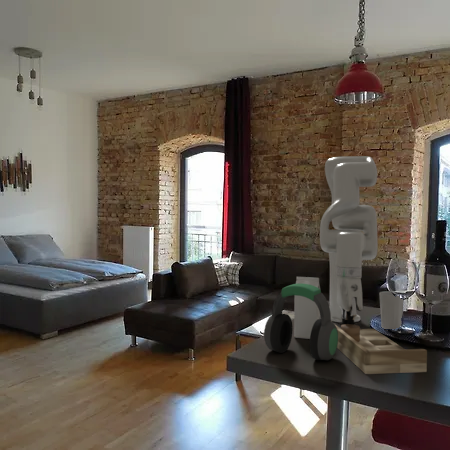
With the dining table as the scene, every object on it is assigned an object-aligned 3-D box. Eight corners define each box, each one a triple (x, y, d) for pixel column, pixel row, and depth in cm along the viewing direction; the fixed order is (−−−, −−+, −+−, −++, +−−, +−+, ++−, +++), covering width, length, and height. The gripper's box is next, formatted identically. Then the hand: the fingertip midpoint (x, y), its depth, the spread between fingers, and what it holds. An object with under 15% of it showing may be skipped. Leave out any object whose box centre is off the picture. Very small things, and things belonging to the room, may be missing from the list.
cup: (405, 332, 151) (406, 296, 150) (380, 331, 152) (381, 295, 152) (401, 326, 158) (401, 291, 158) (377, 324, 160) (377, 291, 159)
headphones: (339, 355, 127) (340, 285, 126) (326, 367, 118) (327, 291, 117) (278, 344, 137) (278, 278, 136) (261, 354, 128) (261, 284, 127)
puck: (337, 337, 137) (337, 324, 137) (355, 337, 138) (355, 323, 138) (344, 343, 132) (344, 329, 131) (362, 342, 132) (363, 328, 132)
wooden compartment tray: (325, 336, 145) (325, 319, 145) (373, 335, 147) (373, 318, 147) (365, 374, 114) (365, 352, 113) (426, 371, 115) (427, 350, 115)
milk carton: (298, 332, 151) (298, 275, 150) (319, 334, 149) (320, 276, 148) (294, 337, 144) (294, 278, 143) (316, 340, 142) (317, 279, 141)
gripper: (370, 275, 132) (369, 338, 132) (351, 268, 147) (350, 325, 147) (345, 276, 131) (344, 339, 132) (328, 269, 146) (328, 325, 147)
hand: (347, 331), depth 140 cm, fingers closed
